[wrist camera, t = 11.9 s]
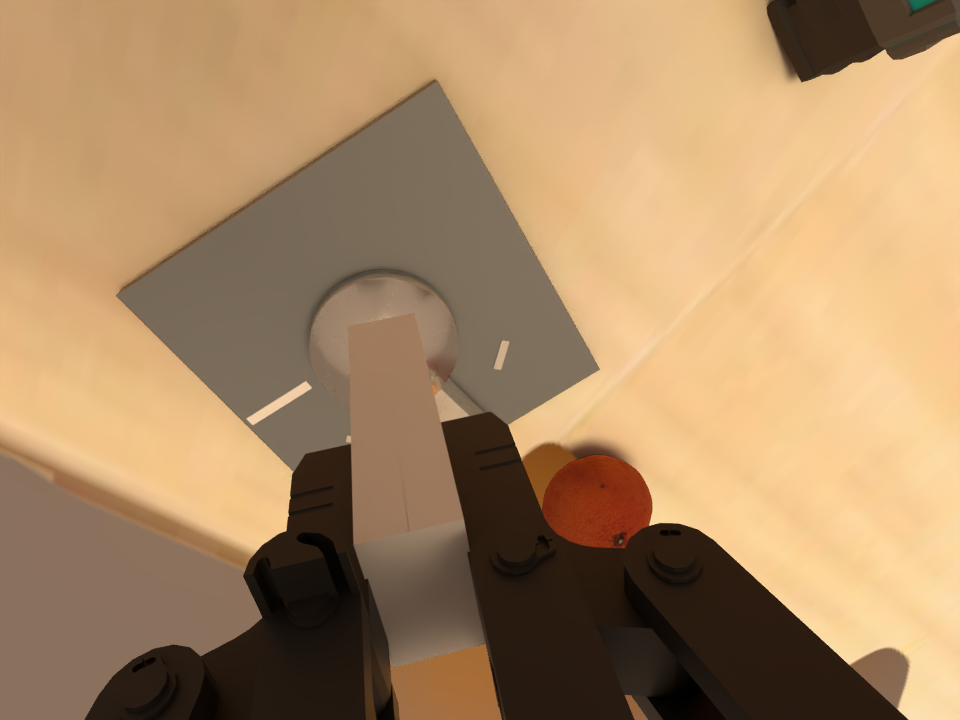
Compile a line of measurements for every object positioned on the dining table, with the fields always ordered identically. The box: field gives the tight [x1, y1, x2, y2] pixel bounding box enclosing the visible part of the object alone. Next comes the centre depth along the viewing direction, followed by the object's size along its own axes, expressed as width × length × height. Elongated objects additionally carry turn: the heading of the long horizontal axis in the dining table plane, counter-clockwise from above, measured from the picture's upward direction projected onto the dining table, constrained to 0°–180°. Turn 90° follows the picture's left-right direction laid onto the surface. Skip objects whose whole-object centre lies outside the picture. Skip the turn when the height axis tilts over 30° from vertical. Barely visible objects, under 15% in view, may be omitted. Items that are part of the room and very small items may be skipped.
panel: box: [116, 80, 600, 472], centre depth 45 cm, size 24×24×1 cm
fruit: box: [542, 455, 652, 548], centre depth 52 cm, size 9×9×8 cm
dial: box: [309, 269, 485, 422], centre depth 44 cm, size 16×10×4 cm, turn 39°
